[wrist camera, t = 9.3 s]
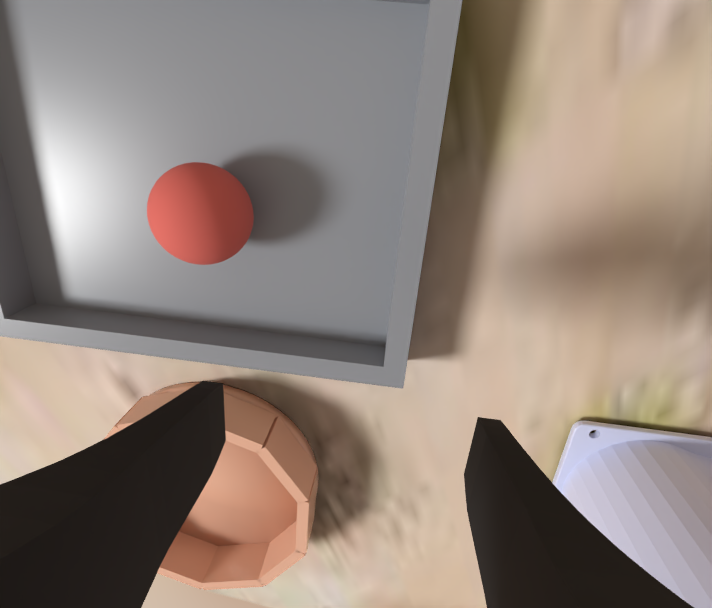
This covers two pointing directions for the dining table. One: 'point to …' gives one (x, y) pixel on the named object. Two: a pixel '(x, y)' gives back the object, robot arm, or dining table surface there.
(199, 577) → the pink bowl
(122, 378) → the dining table surface
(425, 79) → the tray
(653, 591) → the robot arm
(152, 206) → the ball
